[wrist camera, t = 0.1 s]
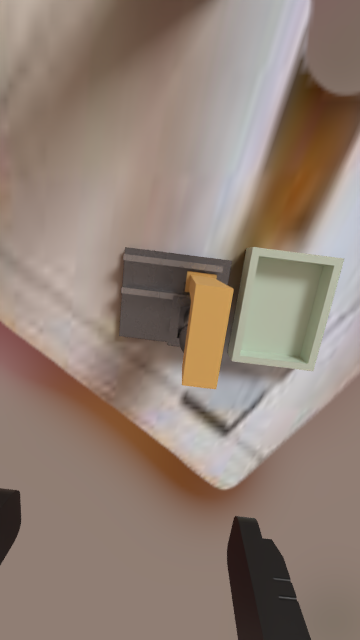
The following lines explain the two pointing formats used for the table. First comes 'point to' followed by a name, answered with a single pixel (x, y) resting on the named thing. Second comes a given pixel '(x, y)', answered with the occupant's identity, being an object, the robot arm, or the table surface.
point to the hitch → (160, 292)
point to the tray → (282, 308)
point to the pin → (184, 331)
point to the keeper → (205, 329)
